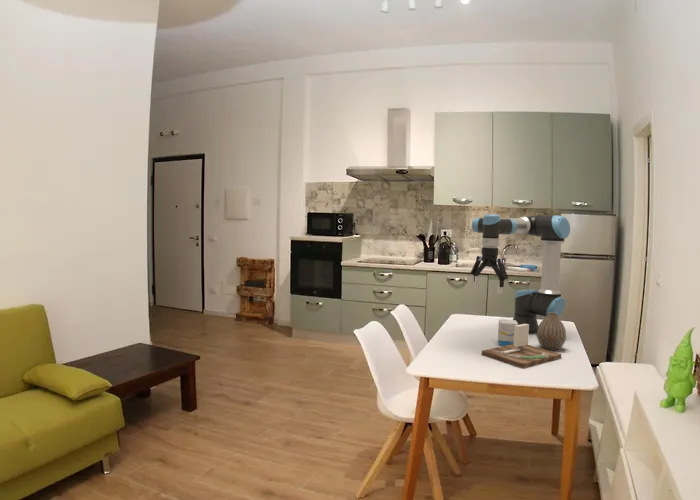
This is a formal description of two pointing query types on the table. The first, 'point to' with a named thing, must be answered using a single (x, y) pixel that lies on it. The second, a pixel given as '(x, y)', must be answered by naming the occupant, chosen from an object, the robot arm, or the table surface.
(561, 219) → the robot arm
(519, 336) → the cream dial pointer
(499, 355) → the board
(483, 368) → the table surface
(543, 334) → the vase
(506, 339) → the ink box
